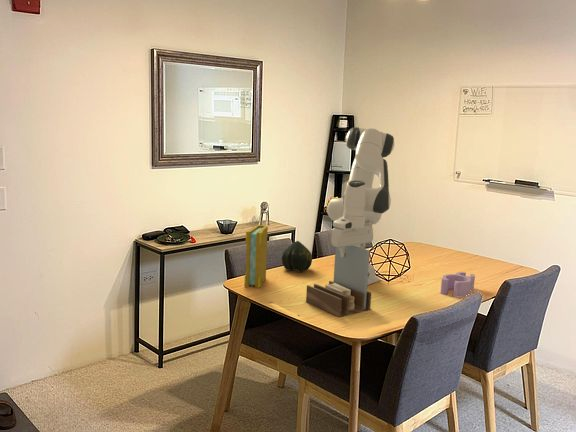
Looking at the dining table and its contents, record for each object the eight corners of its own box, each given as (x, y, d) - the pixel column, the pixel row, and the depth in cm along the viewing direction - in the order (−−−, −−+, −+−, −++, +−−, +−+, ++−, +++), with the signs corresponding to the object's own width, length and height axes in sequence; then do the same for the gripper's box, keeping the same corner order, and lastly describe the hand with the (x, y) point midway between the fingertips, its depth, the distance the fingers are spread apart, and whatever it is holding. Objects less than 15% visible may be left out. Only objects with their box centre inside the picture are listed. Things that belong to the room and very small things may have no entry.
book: (258, 287, 257) (260, 232, 253) (244, 286, 259) (245, 231, 254) (267, 277, 274) (269, 225, 269) (254, 276, 275) (255, 224, 270)
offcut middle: (332, 294, 239) (333, 289, 239) (354, 303, 230) (354, 296, 230) (324, 297, 236) (324, 291, 235) (345, 305, 227) (345, 299, 227)
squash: (295, 265, 276) (309, 239, 281) (272, 260, 285) (285, 235, 291) (309, 280, 285) (321, 255, 291) (286, 275, 295) (298, 250, 300)
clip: (455, 284, 276) (456, 270, 275) (480, 290, 268) (481, 276, 267) (435, 292, 262) (436, 278, 260) (461, 299, 253) (462, 284, 252)
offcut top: (334, 289, 239) (335, 283, 238) (350, 295, 231) (350, 289, 230) (325, 290, 236) (325, 284, 236) (340, 297, 228) (341, 291, 227)
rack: (336, 298, 248) (337, 279, 246) (371, 312, 231) (373, 292, 230) (303, 305, 237) (304, 285, 235) (338, 321, 221) (339, 300, 219)
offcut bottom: (330, 299, 241) (331, 293, 240) (354, 309, 230) (354, 303, 229) (321, 301, 238) (322, 295, 237) (345, 311, 227) (345, 305, 226)
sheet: (335, 296, 245) (338, 241, 241) (365, 309, 231) (369, 250, 227) (332, 297, 244) (335, 241, 240) (362, 309, 230) (366, 251, 226)
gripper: (366, 218, 240) (364, 250, 243) (329, 222, 228) (327, 256, 230) (377, 221, 235) (375, 254, 238) (340, 225, 223) (338, 260, 225)
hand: (351, 255), depth 234 cm, fingers open, 8 cm apart
